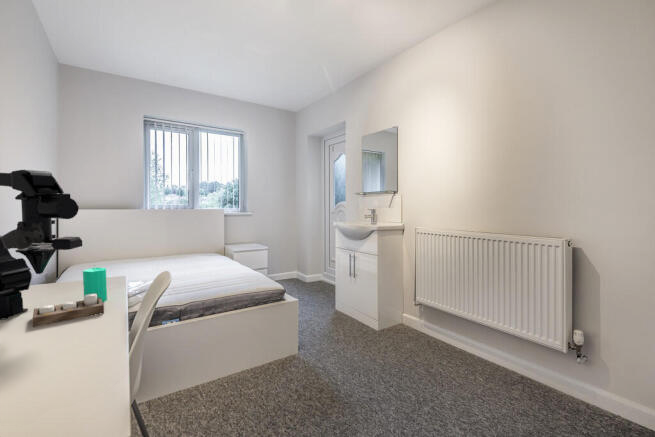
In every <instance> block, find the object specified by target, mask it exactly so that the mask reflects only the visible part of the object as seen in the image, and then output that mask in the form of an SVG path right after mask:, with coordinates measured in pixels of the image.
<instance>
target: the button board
mask: <svg viewBox="0 0 655 437" xmlns="http://www.w3.org/2000/svg"><path fill="white" fill-rule="evenodd" d="M75 302H76V306H77V308H72V309H66V310H63V304H64V303H60V304H56V305H55V304H54V312H50V313H44V314H39V308H40V307H38V308H33V312H32V327H33V328H36V327H37V328H38V327H42V326H47V325H51V324H57V323H60V322H61V323H62V322H67V321H72V320H76V319H82V318H86V317H92V316H96V315H95V314H97V315H101V314H100V313H102V314H105V306H104V302H102V300H101V298H97V304H94V305H89V306H84V299H83V300H79V301H75ZM91 315H92V316H91Z"/></svg>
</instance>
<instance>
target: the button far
mask: <svg viewBox="0 0 655 437" xmlns="http://www.w3.org/2000/svg"><path fill="white" fill-rule="evenodd" d="M83 300H84V306H89V305H94V304H97V294H88V295H85V296H84V295H83Z"/></svg>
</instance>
